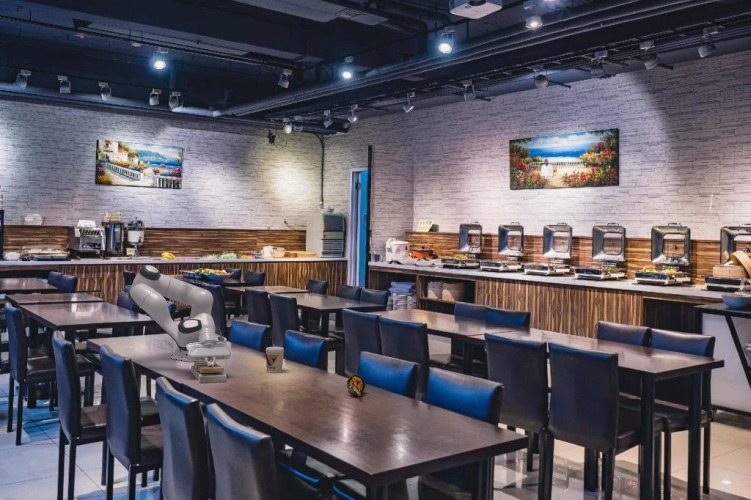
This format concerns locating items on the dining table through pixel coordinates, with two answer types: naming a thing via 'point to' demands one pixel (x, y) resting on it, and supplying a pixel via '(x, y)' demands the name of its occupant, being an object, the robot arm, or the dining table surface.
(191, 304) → the robot arm
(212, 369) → the plank
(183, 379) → the dining table surface
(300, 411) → the dining table surface
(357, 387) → the fried shrimp in bowl
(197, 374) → the floor base
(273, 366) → the coffee cup
